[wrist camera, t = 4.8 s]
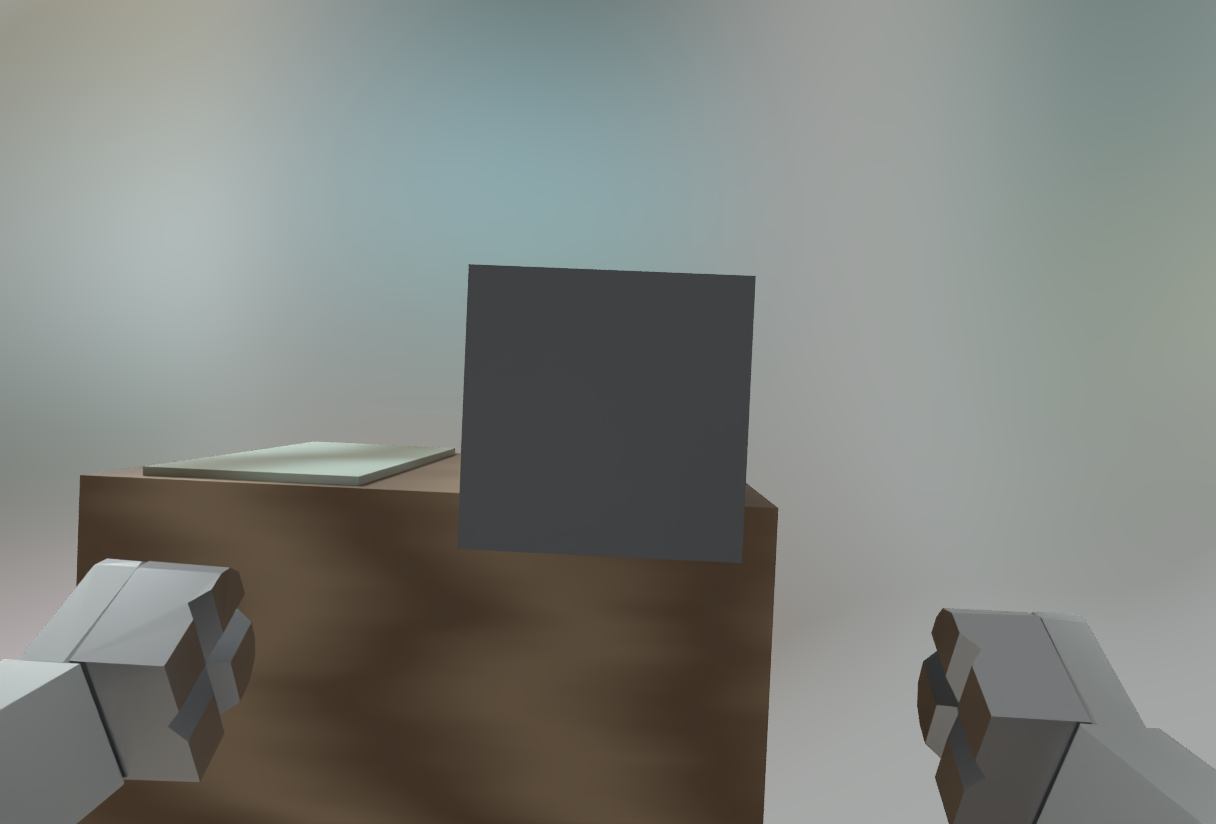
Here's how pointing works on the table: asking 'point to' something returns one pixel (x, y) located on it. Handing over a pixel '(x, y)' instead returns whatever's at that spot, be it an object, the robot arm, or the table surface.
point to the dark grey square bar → (606, 413)
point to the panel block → (446, 653)
